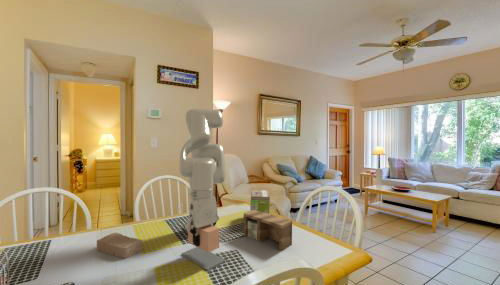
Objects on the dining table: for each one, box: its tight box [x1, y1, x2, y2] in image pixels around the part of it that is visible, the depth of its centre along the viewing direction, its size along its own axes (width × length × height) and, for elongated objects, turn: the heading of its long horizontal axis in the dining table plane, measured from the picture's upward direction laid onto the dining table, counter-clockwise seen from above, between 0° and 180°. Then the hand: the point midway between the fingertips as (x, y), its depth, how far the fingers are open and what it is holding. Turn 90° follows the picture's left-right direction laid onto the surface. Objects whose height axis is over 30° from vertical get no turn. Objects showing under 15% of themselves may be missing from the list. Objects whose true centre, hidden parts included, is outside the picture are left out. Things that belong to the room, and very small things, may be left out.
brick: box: [96, 232, 143, 259], centre depth 94 cm, size 16×8×5 cm, turn 67°
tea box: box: [249, 189, 271, 214], centre depth 128 cm, size 15×10×15 cm
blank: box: [187, 225, 220, 253], centre depth 88 cm, size 5×12×7 cm, turn 49°
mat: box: [181, 246, 226, 272], centre depth 88 cm, size 16×8×1 cm, turn 48°
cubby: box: [243, 210, 293, 252], centre depth 104 cm, size 21×7×10 cm, turn 48°
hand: (202, 242), depth 88 cm, fingers closed on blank, 5 cm apart
